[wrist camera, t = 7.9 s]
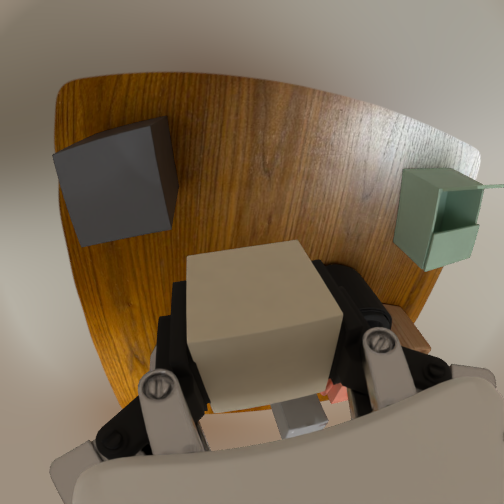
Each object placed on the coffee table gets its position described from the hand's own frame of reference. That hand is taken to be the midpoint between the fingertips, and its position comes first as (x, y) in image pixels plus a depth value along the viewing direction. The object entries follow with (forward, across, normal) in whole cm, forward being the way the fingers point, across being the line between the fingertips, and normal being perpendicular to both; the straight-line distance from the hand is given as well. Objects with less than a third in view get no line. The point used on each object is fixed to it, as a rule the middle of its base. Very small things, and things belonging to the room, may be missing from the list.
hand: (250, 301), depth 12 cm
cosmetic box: (+26, -9, +46) cm, 53 cm away
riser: (+25, +9, -2) cm, 27 cm away
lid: (+13, -34, +2) cm, 36 cm away
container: (+25, -34, +9) cm, 43 cm away
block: (+1, 0, 0) cm, 1 cm away
